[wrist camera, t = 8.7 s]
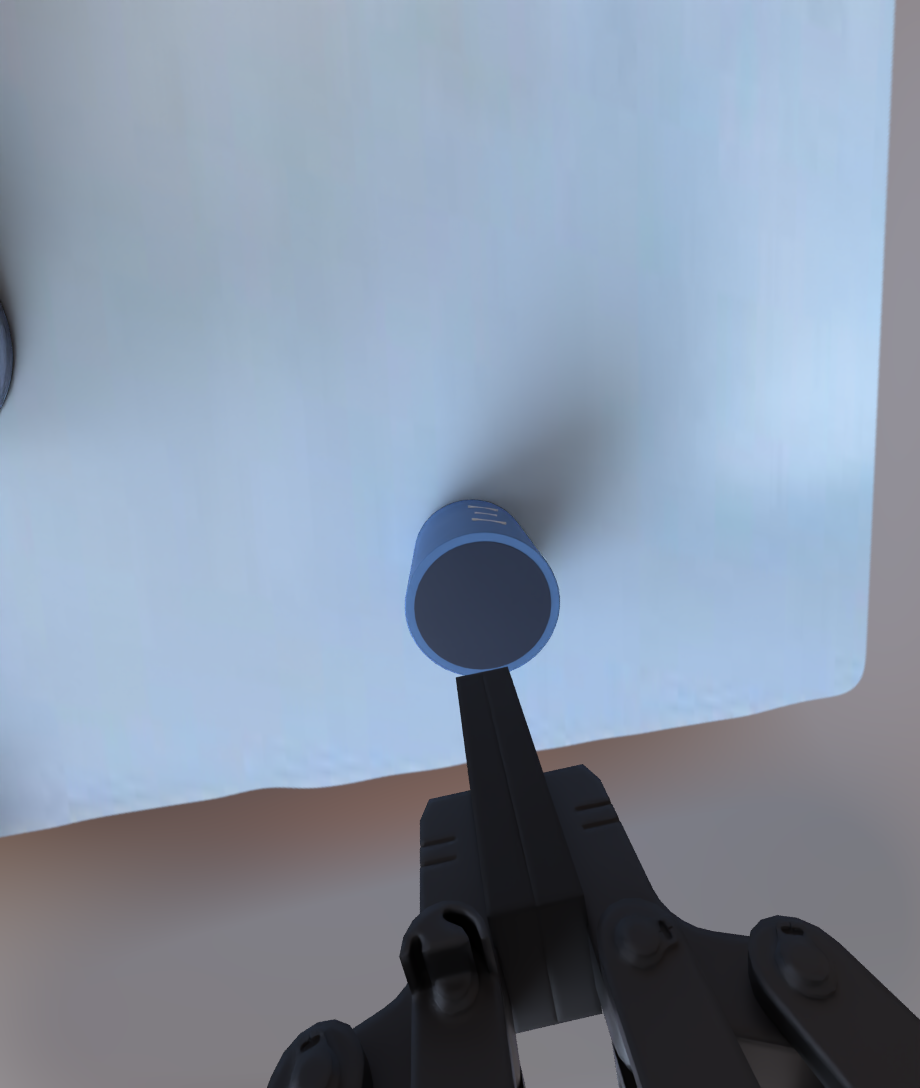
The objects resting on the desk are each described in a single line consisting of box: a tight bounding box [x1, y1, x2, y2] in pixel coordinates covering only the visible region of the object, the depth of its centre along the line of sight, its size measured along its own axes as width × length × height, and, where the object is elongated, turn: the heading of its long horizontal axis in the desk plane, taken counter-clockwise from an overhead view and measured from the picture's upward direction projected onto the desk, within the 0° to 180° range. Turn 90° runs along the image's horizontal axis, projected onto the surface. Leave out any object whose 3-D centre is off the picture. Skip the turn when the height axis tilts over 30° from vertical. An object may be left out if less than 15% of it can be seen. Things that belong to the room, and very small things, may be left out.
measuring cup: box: [405, 500, 560, 675], centre depth 30 cm, size 10×8×8 cm
